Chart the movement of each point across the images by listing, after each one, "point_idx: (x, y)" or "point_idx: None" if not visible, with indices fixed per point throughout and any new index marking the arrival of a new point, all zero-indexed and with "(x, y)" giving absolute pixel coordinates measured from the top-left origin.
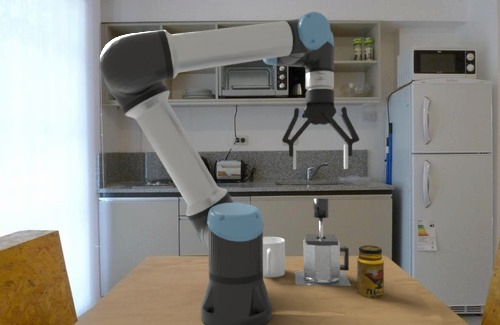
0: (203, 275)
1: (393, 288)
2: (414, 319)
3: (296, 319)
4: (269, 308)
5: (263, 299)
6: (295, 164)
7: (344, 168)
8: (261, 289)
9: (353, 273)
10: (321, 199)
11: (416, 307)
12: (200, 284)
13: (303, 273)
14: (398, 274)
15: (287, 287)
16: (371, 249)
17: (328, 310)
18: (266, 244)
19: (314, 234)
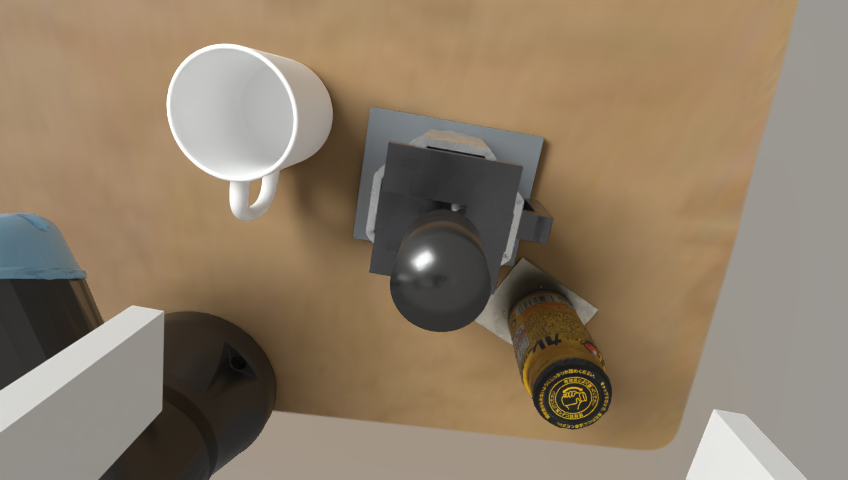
0: (55, 90)
1: (637, 270)
2: (577, 439)
3: (328, 412)
4: (262, 427)
5: (239, 451)
6: (120, 443)
7: (696, 457)
8: (225, 461)
9: (580, 122)
10: (431, 329)
11: (620, 389)
12: (69, 178)
13: (395, 136)
14: (734, 149)
15: (330, 230)
16: (569, 412)
17: (407, 381)
18: (218, 176)
19: (430, 151)
